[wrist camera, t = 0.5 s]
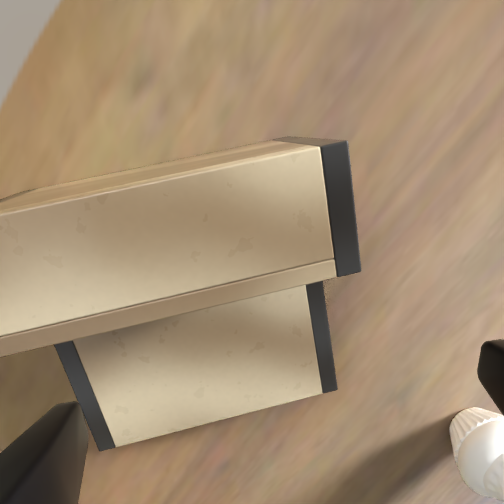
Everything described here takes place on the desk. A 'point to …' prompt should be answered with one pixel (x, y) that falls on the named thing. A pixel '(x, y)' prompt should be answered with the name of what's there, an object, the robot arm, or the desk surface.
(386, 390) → the desk surface
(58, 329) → the shelf
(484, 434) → the muffin
